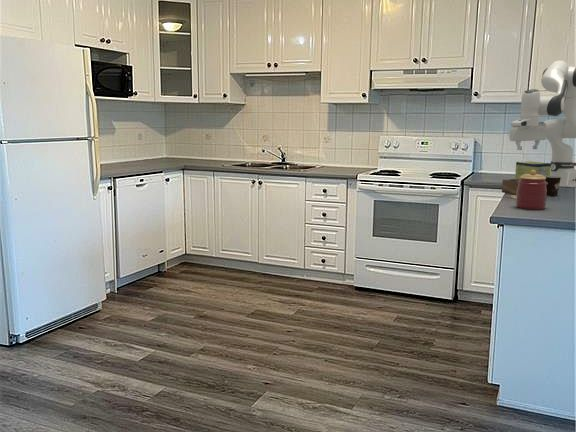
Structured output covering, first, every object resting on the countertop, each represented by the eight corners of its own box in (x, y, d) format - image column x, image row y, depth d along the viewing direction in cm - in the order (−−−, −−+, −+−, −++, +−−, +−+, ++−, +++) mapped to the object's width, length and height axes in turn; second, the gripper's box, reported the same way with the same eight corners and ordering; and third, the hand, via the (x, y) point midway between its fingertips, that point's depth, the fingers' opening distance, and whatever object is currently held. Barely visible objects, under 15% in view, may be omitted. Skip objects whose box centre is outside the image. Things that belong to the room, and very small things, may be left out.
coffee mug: (554, 194, 298) (555, 175, 296) (562, 196, 290) (564, 177, 288) (532, 194, 298) (534, 175, 296) (540, 196, 289) (542, 177, 287)
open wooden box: (520, 191, 309) (520, 178, 307) (535, 194, 297) (536, 181, 296) (501, 192, 305) (502, 179, 304) (516, 195, 294) (517, 182, 293)
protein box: (526, 187, 323) (528, 160, 320) (549, 190, 309) (551, 163, 306) (513, 188, 319) (515, 161, 316) (535, 192, 305) (538, 164, 302)
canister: (525, 204, 268) (527, 167, 264) (551, 207, 257) (554, 170, 254) (509, 207, 260) (512, 169, 257) (536, 211, 250) (539, 172, 246)
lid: (525, 196, 294) (526, 187, 293) (543, 200, 282) (543, 190, 281) (504, 197, 290) (505, 188, 289) (521, 201, 278) (522, 191, 277)
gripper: (541, 121, 286) (539, 148, 289) (508, 122, 280) (506, 149, 283) (550, 121, 280) (548, 149, 283) (516, 122, 274) (514, 150, 277)
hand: (527, 149), depth 283 cm, fingers open, 8 cm apart
